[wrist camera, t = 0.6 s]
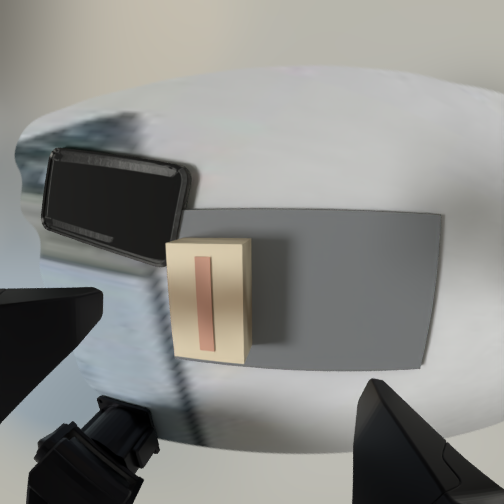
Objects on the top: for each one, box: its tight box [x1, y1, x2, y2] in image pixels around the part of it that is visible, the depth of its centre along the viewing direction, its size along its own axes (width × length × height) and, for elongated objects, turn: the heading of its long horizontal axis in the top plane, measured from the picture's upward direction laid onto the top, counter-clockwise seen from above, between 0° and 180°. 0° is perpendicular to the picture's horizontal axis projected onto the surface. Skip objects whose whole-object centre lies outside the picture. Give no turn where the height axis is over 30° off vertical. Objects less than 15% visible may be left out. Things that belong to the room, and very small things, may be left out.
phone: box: [41, 148, 191, 267], centre depth 23 cm, size 8×1×15 cm
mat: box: [167, 209, 441, 371], centre depth 22 cm, size 20×12×1 cm, turn 91°
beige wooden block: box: [166, 238, 252, 364], centre depth 21 cm, size 8×5×3 cm, turn 1°
